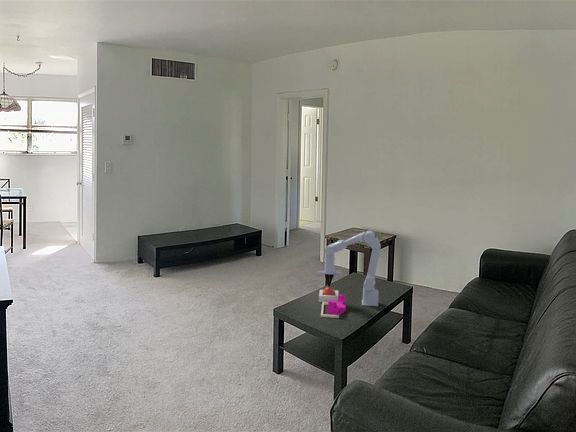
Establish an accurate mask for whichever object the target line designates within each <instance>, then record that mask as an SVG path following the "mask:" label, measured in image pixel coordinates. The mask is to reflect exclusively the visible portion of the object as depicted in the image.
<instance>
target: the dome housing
mask: <svg viewBox="0 0 576 432" xmlns="http://www.w3.org/2000/svg"><path fill="white" fill-rule="evenodd" d="M323 290H324V289H319V293H318V302H319V303H322V302H327V303H328V301H330V300H331V301H336V303H337V300H338V296H339V290H338V289H337V290H335V289H333V290H334V291H335V295H323Z"/></svg>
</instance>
